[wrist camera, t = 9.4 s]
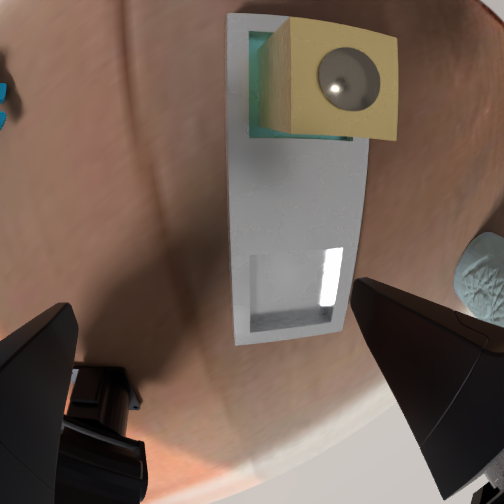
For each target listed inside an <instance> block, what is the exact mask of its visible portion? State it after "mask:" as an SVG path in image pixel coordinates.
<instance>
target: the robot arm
mask: <svg viewBox="0 0 504 504" xmlns="http://www.w3.org/2000/svg"><path fill="white" fill-rule="evenodd" d="M350 305H351V308H352V311H353V313H354V315H355V318H356V320H357V322H358V325H359V327H360V330H361V332H362V334H363V337H364V339H365V341H366V344H367V345H368V347H369V349H370V351H371V353H372V355H373V357H374V359H375V360H376V362H377V364H378V366H379V368H380V370H381V372H382V373H383V375H384V377H385V379H386V381H387V383H388V385H389V387H390V389H391V391H392V393H393V394H394V396H395V398H396V400H397V402H398V404H399V406H400V408H401V410H402V412H403V414H404V416H405V418H406V420H407V422H408V424H409V426H410V428H411V430H412V432H413V435H414V437H415V439H416V441H417V443H418V445H419V447H420V449H421V452H422V454H423V456H424V458H425V460H426V462H427V465H428V467H429V469H430V471H431V473H432V476H433V478H434V480H435V482H436V485H437V487H438V489H439V492H440V494H441V496H442V498H443V500H446V499H447V498H449V497H451V496H452V495H454V494H455V493H457V492H458V491H460V490H462V489H463V488H464V487H466V486H467V485H469V484H470V483H472V482H473V481H474V480H476V479H477V478H478V477H480V476H481V475H482V474H485V475H486V477H487V479H488V480H489V482H488V483H487V484H485V485H484V486H483V487H482V488H480V489H479V490H478V491H477V492H475V493H474V494H473V497H472V501H471V504H504V327H501V326H498V325H495V324H491V323H488V322H485V321H482V320H479V319H477V318H474V317H471V316H468V315H466V314H463V313H460V312H458V311H453V310H452V309H450V308H447V307H445V306H442V305H439V304H437V303H434V302H432V301H429V300H426V299H424V298H421V297H418V296H416V295H413V294H411V293H408V292H405V291H403V290H400V289H397V288H395V287H392V286H389V285H387V284H384V283H381V282H378V281H376V280H373V279H370V278H368V277H363V278H357V279H355V280H354V283H353V288H352V294H351V299H350ZM77 337H78V323H77V321H76V318H75V315H74V312H73V309H72V306H71V305H70V304H69V303H67V302H65V303H57V304H55V305H54V306H52V307H51V308H49V309H47V310H46V311H44V312H43V313H41V314H40V315H38V316H37V317H35V318H34V319H32V320H31V321H29V322H28V323H26V324H25V325H23V326H22V327H20V328H19V329H17V330H16V331H14V332H13V333H11V334H10V335H8V336H7V337H6V338H4V339H3V340H1V341H0V504H140V502H142V501H143V499H144V497H145V495H146V491H147V486H148V470H147V462H146V454H145V444H144V442H143V441H139V440H138V441H136V440H133V439H130V438H127V437H126V428H127V420H128V412H129V410H139V409H140V406H141V405H140V403H139V400H138V398H137V396H136V394H135V391H134V389H133V387H132V384H131V382H130V379H129V377H128V375H127V372H126V370H125V369H124V368H121V367H80V366H73V365H74V358H75V351H76V344H77ZM70 381H72V383H73V385H74V386H73V389H72V393H71V396H70V403H69V406H68V410H67V414H66V415H65V414H64V410H65V405H66V400H67V395H68V390H69V385H70Z"/></svg>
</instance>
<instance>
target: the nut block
mask: <svg viewBox="0 0 504 504" xmlns="http://www.w3.org/2000/svg"><path fill="white" fill-rule="evenodd" d="M258 119H259V127H263V128H268V129H272V130H276V131H281V132H285V133H289V134H308V135H331V136H347V137H360V138H372V139H382V140H391V141H396V138H397V119H398V48H397V38H395V37H392V36H388V35H385V34H381V33H377V32H374V31H370V30H366V29H361V28H357V27H352V26H348V25H343V24H338V23H332V22H326V21H320V20H314V19H306V18H299V17H289V18H288V19H287V20H286V21H285V22H284V23H283V24H282V25H281V26H280V27H279V28H278V29H277V30H276V31H275V32H274V33H273V34H272V35H271V36H270V37H269V38H268V39H267V40H266V41H265V42H264V43H263V44H262V46H261V47H260V48H259V49H258Z"/></svg>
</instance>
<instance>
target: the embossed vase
mask: <svg viewBox="0 0 504 504" xmlns="http://www.w3.org/2000/svg"><path fill="white" fill-rule="evenodd" d="M453 285H454V291H455V293H456V294H457V296H458V297H459V298H460V299H461V301H462V302H463V303H464V304H465V305H466V306H467V307H468V308H469V310H470V311H471V312H472V313H473V314H474V316H475V317H476V318H477V319H479V320H482V321H485V322H488V323H491V324H495V325H498V326H501V327H504V238H503V237H501V236H499V235H497V234H495V233H493V232H484V233H482V234H480V235H478V236H477V237H476V238H474V239H473V240H472V241H471V243H470V244H469V245H468V246H467V248H466V249H465V251H464V252H463V254H462V256H461V258H460V260H459V262H458V265H457V267H456V270H455V274H454V281H453Z"/></svg>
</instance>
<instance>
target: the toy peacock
mask: <svg viewBox="0 0 504 504" xmlns="http://www.w3.org/2000/svg"><path fill="white" fill-rule="evenodd" d="M5 95H6V84H5V83H0V104H1V103H3V102H4V100H5ZM5 121H6V114H5V113H4V112H2V111H0V130H1V129H2V127H3V125H4V123H5Z"/></svg>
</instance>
